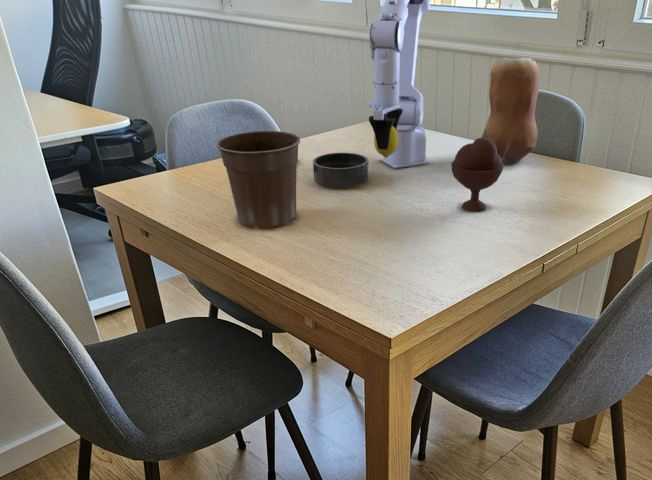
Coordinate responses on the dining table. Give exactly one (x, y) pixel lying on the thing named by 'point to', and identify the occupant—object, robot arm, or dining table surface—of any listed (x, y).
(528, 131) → the butternut squash
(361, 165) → the bowl
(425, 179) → the dining table surface
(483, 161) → the ice cream bowl
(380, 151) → the lemon
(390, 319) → the dining table surface
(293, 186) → the plant pot
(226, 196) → the dining table surface
